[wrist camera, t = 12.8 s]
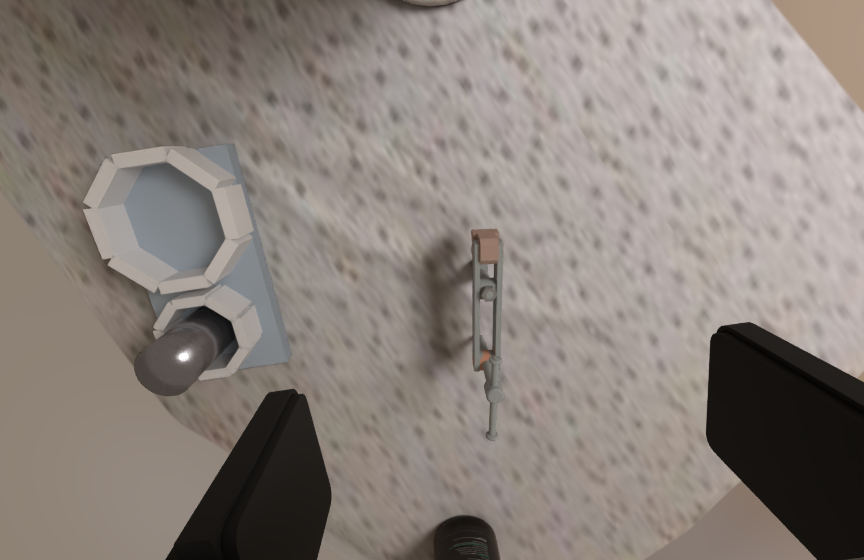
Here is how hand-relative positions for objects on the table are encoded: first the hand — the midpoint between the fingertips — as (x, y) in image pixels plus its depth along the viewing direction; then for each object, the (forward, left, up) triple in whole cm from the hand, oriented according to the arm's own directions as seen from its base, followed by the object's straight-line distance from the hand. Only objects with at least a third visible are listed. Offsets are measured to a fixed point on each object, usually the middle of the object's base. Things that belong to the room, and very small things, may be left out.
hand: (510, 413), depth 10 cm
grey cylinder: (+6, -21, -27) cm, 35 cm away
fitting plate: (+1, -21, -28) cm, 35 cm away
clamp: (+8, +2, -29) cm, 30 cm away
